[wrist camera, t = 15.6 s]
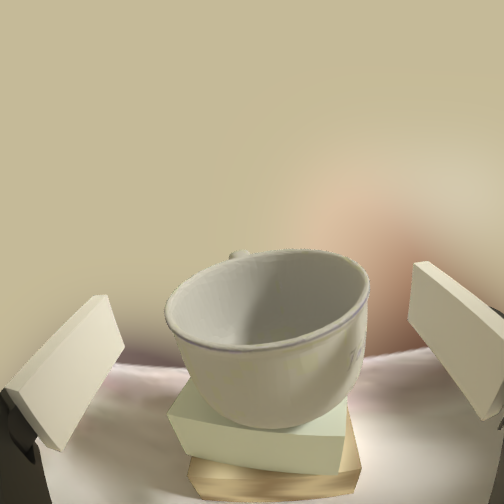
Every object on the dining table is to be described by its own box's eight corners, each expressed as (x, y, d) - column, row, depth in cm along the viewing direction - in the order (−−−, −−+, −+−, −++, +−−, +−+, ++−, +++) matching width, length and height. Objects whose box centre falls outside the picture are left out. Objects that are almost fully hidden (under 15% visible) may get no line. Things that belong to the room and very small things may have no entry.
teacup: (384, 431, 13) (411, 308, 11) (187, 462, 13) (135, 348, 10) (324, 316, 26) (320, 229, 24) (204, 332, 26) (187, 247, 24)
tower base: (334, 399, 28) (336, 365, 26) (352, 495, 16) (361, 468, 15) (221, 407, 29) (212, 374, 27) (203, 501, 17) (186, 476, 16)
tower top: (345, 374, 25) (347, 330, 23) (337, 475, 15) (345, 436, 13) (231, 368, 28) (223, 327, 26) (186, 454, 18) (166, 413, 16)
